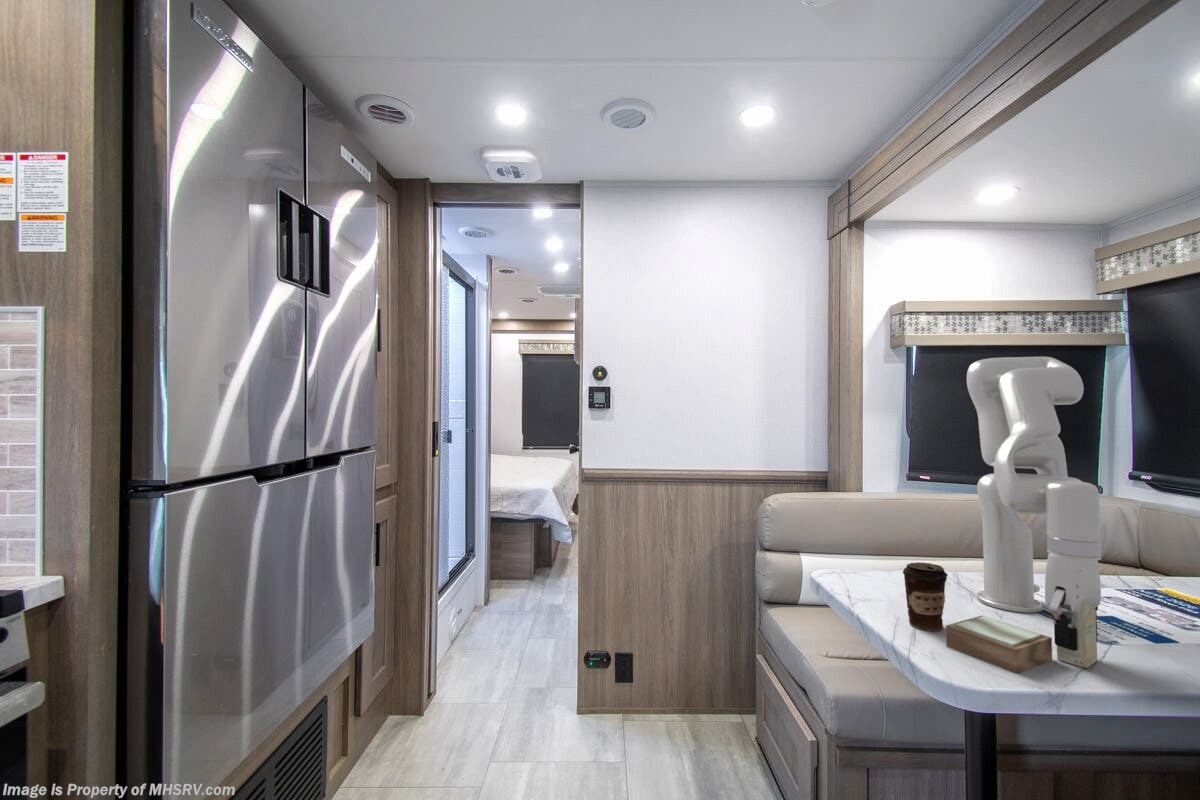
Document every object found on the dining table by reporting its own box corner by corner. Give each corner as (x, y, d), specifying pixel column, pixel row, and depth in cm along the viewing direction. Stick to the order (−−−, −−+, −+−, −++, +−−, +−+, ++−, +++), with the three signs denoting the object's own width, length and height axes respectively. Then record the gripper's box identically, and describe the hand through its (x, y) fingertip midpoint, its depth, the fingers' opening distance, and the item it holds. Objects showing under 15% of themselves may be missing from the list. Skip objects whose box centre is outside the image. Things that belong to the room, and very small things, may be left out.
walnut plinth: (982, 635, 108) (981, 613, 108) (1052, 659, 97) (1051, 635, 97) (946, 646, 103) (945, 623, 103) (1016, 673, 92) (1015, 647, 92)
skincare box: (1086, 669, 93) (1084, 601, 94) (1055, 659, 97) (1053, 594, 97) (1098, 660, 97) (1096, 594, 97) (1067, 651, 100) (1065, 588, 101)
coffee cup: (957, 636, 107) (955, 572, 108) (913, 632, 109) (911, 570, 110) (938, 620, 116) (937, 561, 116) (898, 617, 118) (897, 559, 118)
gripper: (1071, 538, 105) (1074, 628, 104) (1024, 547, 97) (1027, 644, 97) (1121, 547, 98) (1124, 643, 97) (1074, 557, 90) (1077, 662, 90)
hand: (1076, 643), depth 97 cm, fingers closed on skincare box, 6 cm apart
